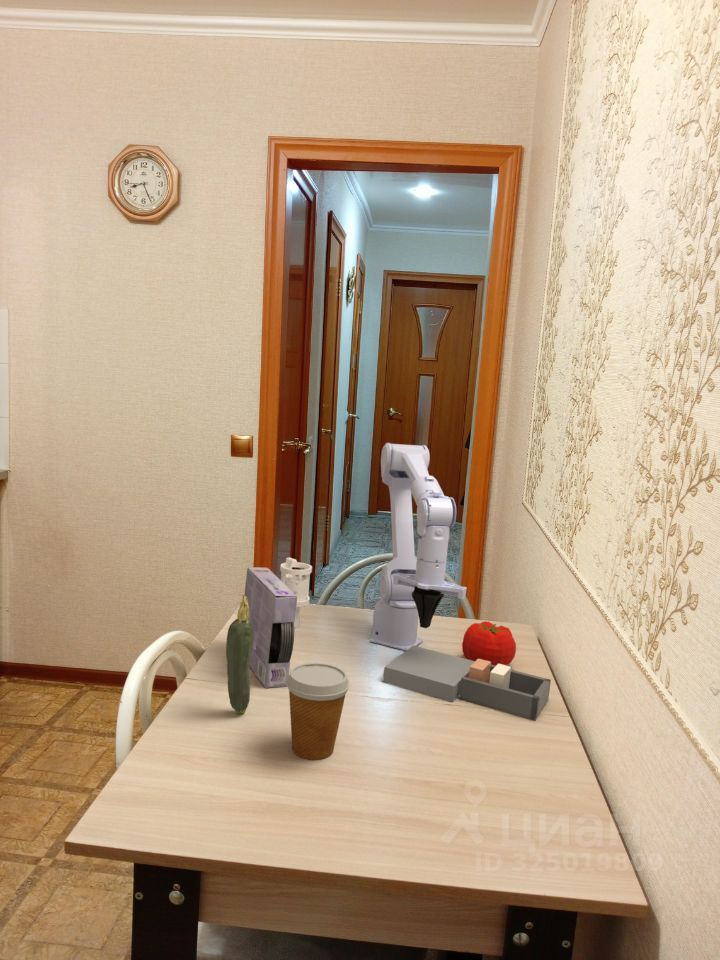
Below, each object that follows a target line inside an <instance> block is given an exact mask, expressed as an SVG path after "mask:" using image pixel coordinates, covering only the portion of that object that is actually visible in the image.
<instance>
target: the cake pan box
mask: <svg viewBox="0 0 720 960" xmlns="http://www.w3.org/2000/svg"><path fill="white" fill-rule="evenodd" d="M245 576H246V577H245V586H244V594H243V595H244V596H246V597H247V600H248V607H249V612H250V616H249V618H248V619H247V620H248V621H249V622H250V623H251V624H252V626H253V629H254V642H253V647H252V652H251V657H250V662H249V669H250V670H251V671H252V672H253V674H255V676H256V677H257V678H258V680H259V681H260V683H261V684H262V685H263V687H264V688H265V689H273V688H274V689H275V688H285V687H288V686H287V683H286V680H287V677H288V676H289V675H290V665H291V658H292V655H293V652H294V651H293V650H294V643H295V628H294V622H295V616H296V605H297V596H296V595H295V594H294V593H293V592H292V591H291V590H290V589H289V588H288V587H287V586H286V585H285V584H284V583H283V582H282V581H281V578H279V577H278V576H277V575H276V574H275V573H274V572H273V571H272V570H271V569H270V568H268V567H260V566H259V567H252V566H251V567H247V569H246V575H245Z"/></svg>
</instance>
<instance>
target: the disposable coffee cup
mask: <svg viewBox="0 0 720 960" xmlns="http://www.w3.org/2000/svg"><path fill="white" fill-rule="evenodd" d="M286 683H287V686H286V687H287V688H288V691H289V692H288V693H289V694H288V695H289V711H290V713H289V714H290V733H291V749H292V752H293V753H294V754H295V755H296V756H298V757H299V758H302V759H306V760H313V761H314V760H315V761H316V760H323V759H327V758H329V757H331V756H332V755H333V753H334V750H335V745H336V742H337V741H336V740H337V735H338V731H339V726H340V723H341V717H342V712H343V709H344V703H345V698H346V694H347V692H348V691H349V689H350V687H351V683H350V681H349V679H348V674H347V672H346V671H345V670H344V669H343V668H341V667H339V666H336V665H332V664H329V663H324V662H307V663H301V664H298V665H296V666H294V667H293V668H291V669H290V671H289V676H288V677H287V680H286Z"/></svg>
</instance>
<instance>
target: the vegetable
mask: <svg viewBox="0 0 720 960" xmlns="http://www.w3.org/2000/svg"><path fill="white" fill-rule="evenodd" d="M241 596H242V600H241V601H240V604H239V608H238V609H237V610H238V611H237V616H236V617H237V619H235V620H233V621H232V622H231V624H230V625H229V627H228V630H227V633H226V634H227V635H226V644H225V652H226V653H225V654H226V655H225V657H226V666H227V667H226V669H227V671H226V672H227V691H228V692H227V693H228V699H229V704H230V706H231V707H232V709H234V711H235V713H237V714H241V713H246V711H247V709H248V706H249V703H250V699H251V698H250V695H251V685H250V684H251V683H250V682H251V681H250V667H249V662H250V657H251V652H252V647H253V642H254V629H253V626H252V624H251V623H250V622H249V621H248V620H247V619H248V618H249V616H250V612H249V607H248V600H247V597H246V596H244V594H242V595H241Z"/></svg>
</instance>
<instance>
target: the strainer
mask: <svg viewBox="0 0 720 960" xmlns="http://www.w3.org/2000/svg"><path fill="white" fill-rule="evenodd" d="M279 568H280V569H279V570H280V572H281V574H280V580H281V581H282V582H283V583H284V584H285V585H286V586H287V587H288V588H289V589H290V590H291V591H292V592H293V593H294V594H295V595H296V596H297V605H296V616H295V622H294V629H296V628H298V627H300V626H299V625H300V614H301V607H305V606H308V605H310V600H311V599H310V596H309V593H310V591H309V590H310V589H309V588H310V579H311V578H310V576H311V574H312V573H313V566H312V565H310V564H308V563H306V562H305V563H304V562H299V561H297V559H295V558H292V557H285V562H282V563H281V564H280V567H279ZM293 568H299V569H293ZM303 576H304V577H303Z"/></svg>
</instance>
